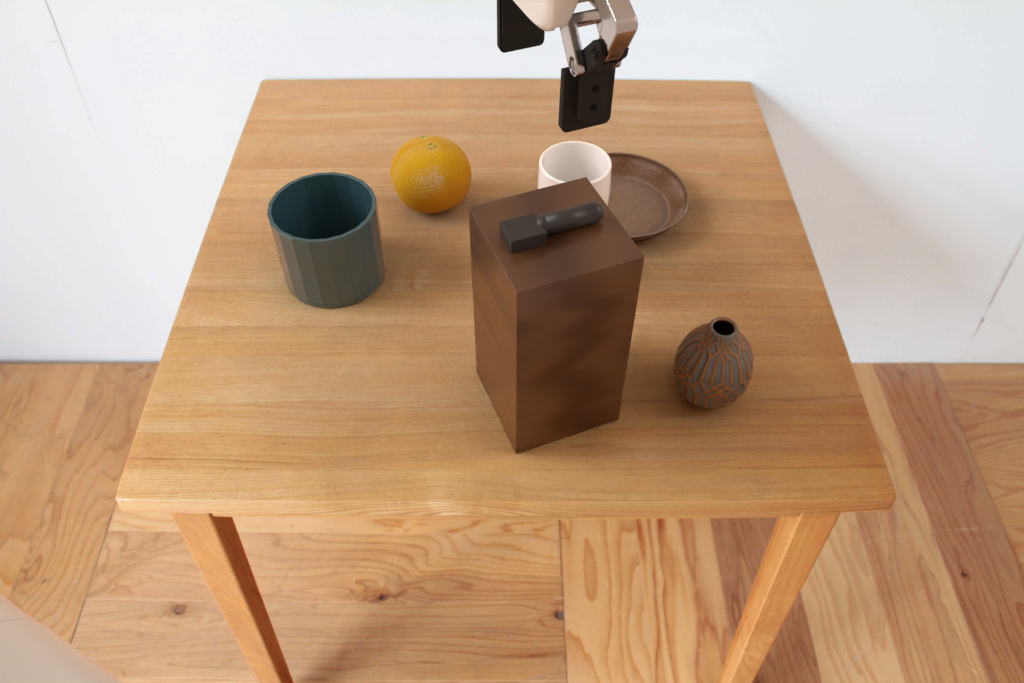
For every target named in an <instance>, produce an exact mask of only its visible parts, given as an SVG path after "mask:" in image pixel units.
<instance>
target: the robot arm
mask: <svg viewBox="0 0 1024 683" xmlns="http://www.w3.org/2000/svg"><path fill="white" fill-rule="evenodd" d="M586 2H587V3H589V4H590V5H591V6H592V7H593V9H588V10H583V11H577V12H575V11H576V8H577V6H578V4H582V3H586ZM593 25H596V28H597V33H598V38H597V39H593V40H592V41H591V42H590V43H588V44H587V45H586V46H585V47H583V46H582V42H581V41H582V40H581V38H580V33H579V28H581V27H582V28H583V27H586V26H587V27H588V26H593ZM557 28H558V29H559V31H560V36H561V41H562V44H563V48H564V49H563V50H564V53H565V57H566V62H567V66H566V67H562V68H560V84H559V99H558V100H559V103H558V105H559V106H558V118H557V119H558V120H557V122H558V123H557V124H558V127H559V129H560V130H561V131H562V132H563V133H565V134H566V133H571V132H575V131H579V130H583V129H587V128H592V127H596V126H601V125H604V124H607V123H608V122H609V121H610V120H611V116H612V106H613V98H614V97H613V96H614V88H615V80H616V69H617V68H619V67H621V66H622V61H623V60H624V59H626V58H627V57H628V55H629V51H630V48H629V47H630V45H631V43H632V41H633V39H634V37H635V35H636V33H637V31H638V28H639V22H638V16H637V14H636V12H635V10H634V7H633V5H632V2H631V1H630V0H496V45H497V48H498V50H499V51H500V52H501V53H504V54H505V53H511V52H516V51H520V50H525V49H531V48H535V47H539V46H542V45H543V44H544V42H545V37H546V36H545V33H546V32H553V31H555V30H556V29H557ZM0 683H123V681H122V680H120V679H119V678H118V677H117V676H115V675H113V674H112V673H110V671H108V670H107V669H105V668H104V667H103V666H102V665H100V664H99V663H97V662H96V661H94V660H93V659H92V658H90V657H89V656H88V655H86V654H85V653H83V652H82V651H81V650H80V649H78V648H76V647H75V646H74V645H72V644H71V643H70V642H68V641H67V640H66V639H65V638H63V637H62V636H61V635H59V634H57V633H56V632H55V631H54V630H52V629H51V628H49V627H48V626H47V625H45V624H44V623H42V622H39V621H37V620H36V619H35V618H34V617H32V616H31V615H29V614H28V613H27V612H25V611H24V610H23V609H22V608H20V607H19V606H17V605H16V604H15V603H13V602H12V601H11V600H9V599H8V598H6V597H5V596H4V595H3V594H1V593H0Z"/></svg>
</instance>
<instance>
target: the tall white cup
mask: <svg viewBox="0 0 1024 683" xmlns="http://www.w3.org/2000/svg"><path fill="white" fill-rule="evenodd" d="M607 153H608V152H606V151H605V150H604V149H603V148H601V147H600V146H598V145H596V144H593V143H590V142H586V141H581V140H568V141H562V142H558V143H555V144H551V146H549V147H548V148H546V149H545V150H544V151H543V152H542V153H541V154H540V157H539V160H538V171H537V184H536V186H537V187H536V190H537V189H541V188H545V187H548V186H552V185H556V184H560V183H564V182H568V181H572V180H576V179H580V178H584V177H587V179H588V180H589V181H590V183H591V184H592V185H593V187H594V188H595V189H596V191H597V192H598V194H599V195H600V196H601V198H602V199H603V200H604V202H605V203H606V205H607V206H608V202H609V195H610V187H611V170H612V162H611V159H610V157H609V155H608V154H607Z"/></svg>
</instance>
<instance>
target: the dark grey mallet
mask: <svg viewBox="0 0 1024 683" xmlns="http://www.w3.org/2000/svg"><path fill="white" fill-rule="evenodd" d="M603 216H604V208H603V206H602V205H601V204H600V203H599V202H596V201H592V202H588V203H584V204H580V205H576V206H573V207H569V208H565V209H561V210H557V211H554V212H550V213H546V214H542V215H540V216H538V217H537V216H536V215H535V213H531V214H527V215H523V216H520V217H516V218H512V219H508V220H504V221H501V222H500V235H501V237H502V238H503V240H504V242H505V243H506V245H507V247H508V249H509V250H510V252H511V253H516V252H520V251H523V250H527V249H531V248H534V247H538V246H542V245H545V244H546V242H547V236H548V235H552V234H556V233H559V232H563V231H567V230H571V229H574V228H578V227H582V226H585V225H589V224H593V223H596V222H599V221H600V220H601V219H602V218H603Z"/></svg>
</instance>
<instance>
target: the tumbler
mask: <svg viewBox="0 0 1024 683" xmlns="http://www.w3.org/2000/svg"><path fill="white" fill-rule="evenodd" d="M266 216H267V219H268V223H269V227H270V231H271V234H272V237H273V242H274V244H275V248H276V252H277V255H278V259H279V262H280V266H281V269H282V273H283V276H284V279H285V283H286V286H287V288H288V290H289V292H290V294H291V295H293V297H294V298H295V299H297V300H298V301H300V302H301V303H304V304H306V305H308V306H311V307H314V308H320V309H339V308H345V307H350V306H353V305H355V304H358V303H361V302H362V301H364V300H366V299H367V298H370V297H371V296H372V295H373V294H374V293H375V292H376V291H377V290H378V289H379V288H380V287H381V285H382V284H383V282H384V281H385V277H386V275H387V259H386V253H385V247H384V246H385V245H384V239H383V232H382V226H381V220H380V213H379V206H378V201H377V196H376V195H375V192H374V190H373V188H372V187H371V185H369V184H367V182H366V181H364V180H363V179H361V178H359V177H356V176H354V175H351V174H348V173H344V172H343V173H342V172H336V171H328V172H315V173H311V174H306V175H303V176H300V177H297V178H296V179H294V180H291V181H289V182H288V183H287V182H286V184H285V185H283V186H282V187H280V188H279V189H278V190H277V191H275V193H274V194H273V196H272V197H271V198H270V200H269V202H268V206H267V211H266Z"/></svg>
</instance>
